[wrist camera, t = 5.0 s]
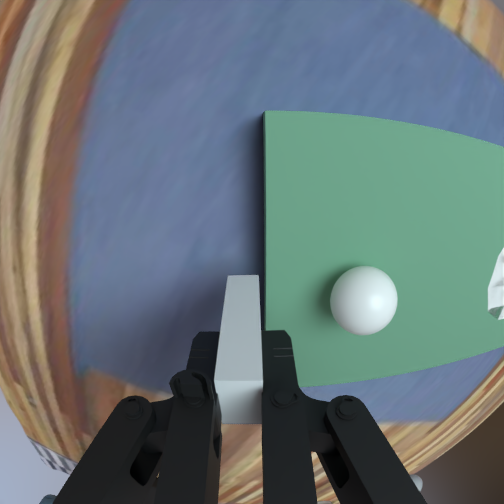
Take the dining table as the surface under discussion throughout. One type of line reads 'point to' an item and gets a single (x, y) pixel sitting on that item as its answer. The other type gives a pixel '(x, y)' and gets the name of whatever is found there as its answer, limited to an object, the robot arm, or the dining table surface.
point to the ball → (363, 300)
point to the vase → (324, 502)
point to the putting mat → (381, 241)
